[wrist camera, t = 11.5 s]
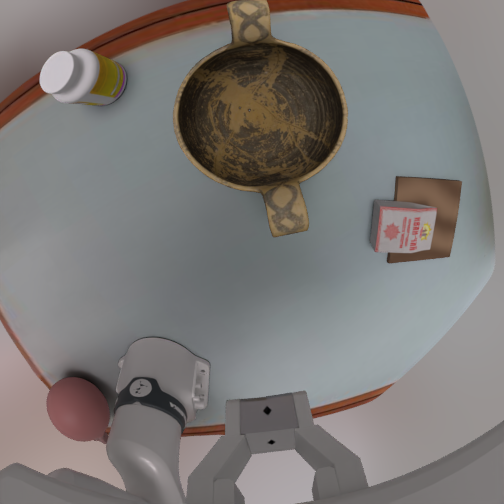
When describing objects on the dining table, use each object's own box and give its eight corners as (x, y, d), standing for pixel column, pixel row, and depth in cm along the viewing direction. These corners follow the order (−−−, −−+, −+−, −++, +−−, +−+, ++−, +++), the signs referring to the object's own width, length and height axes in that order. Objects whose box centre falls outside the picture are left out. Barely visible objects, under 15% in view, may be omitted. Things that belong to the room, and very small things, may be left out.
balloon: (92, 413, 59) (77, 457, 45) (50, 363, 51) (24, 410, 37) (137, 415, 58) (125, 465, 44) (94, 362, 50) (70, 417, 36)
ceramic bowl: (329, 189, 38) (377, 224, 24) (208, 210, 38) (192, 258, 25) (303, 35, 29) (340, -11, 15) (176, 55, 29) (140, 16, 16)
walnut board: (447, 254, 43) (449, 256, 43) (386, 261, 43) (388, 263, 42) (458, 180, 38) (461, 181, 37) (395, 176, 37) (398, 177, 37)
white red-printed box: (374, 199, 39) (431, 204, 37) (369, 242, 42) (425, 244, 40) (380, 206, 35) (441, 211, 34) (375, 251, 38) (433, 254, 37)
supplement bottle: (121, 54, 28) (76, 30, 17) (133, 92, 31) (89, 79, 19) (82, 77, 29) (28, 66, 17) (93, 114, 32) (39, 114, 20)
